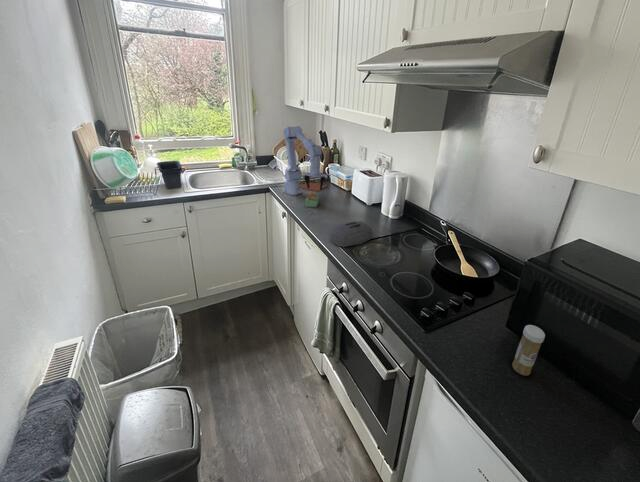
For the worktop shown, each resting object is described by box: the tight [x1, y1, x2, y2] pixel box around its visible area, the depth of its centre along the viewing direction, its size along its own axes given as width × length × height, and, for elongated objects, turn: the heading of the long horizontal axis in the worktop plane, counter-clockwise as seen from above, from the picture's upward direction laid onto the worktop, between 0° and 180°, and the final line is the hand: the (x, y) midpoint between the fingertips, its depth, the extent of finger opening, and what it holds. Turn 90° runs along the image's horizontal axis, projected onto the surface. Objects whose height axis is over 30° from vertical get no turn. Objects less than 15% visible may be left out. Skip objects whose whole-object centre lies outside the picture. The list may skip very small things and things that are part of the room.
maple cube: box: [307, 190, 317, 200], centre depth 181 cm, size 4×4×4 cm
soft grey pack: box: [330, 220, 374, 248], centre depth 142 cm, size 15×8×20 cm
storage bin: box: [154, 160, 183, 190], centre depth 200 cm, size 21×16×14 cm
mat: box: [299, 181, 328, 193], centre depth 215 cm, size 16×14×1 cm
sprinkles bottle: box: [511, 324, 546, 376], centre depth 78 cm, size 5×5×13 cm
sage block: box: [304, 195, 319, 208], centre depth 182 cm, size 7×7×4 cm
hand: (314, 188), depth 180 cm, fingers open, 7 cm apart
